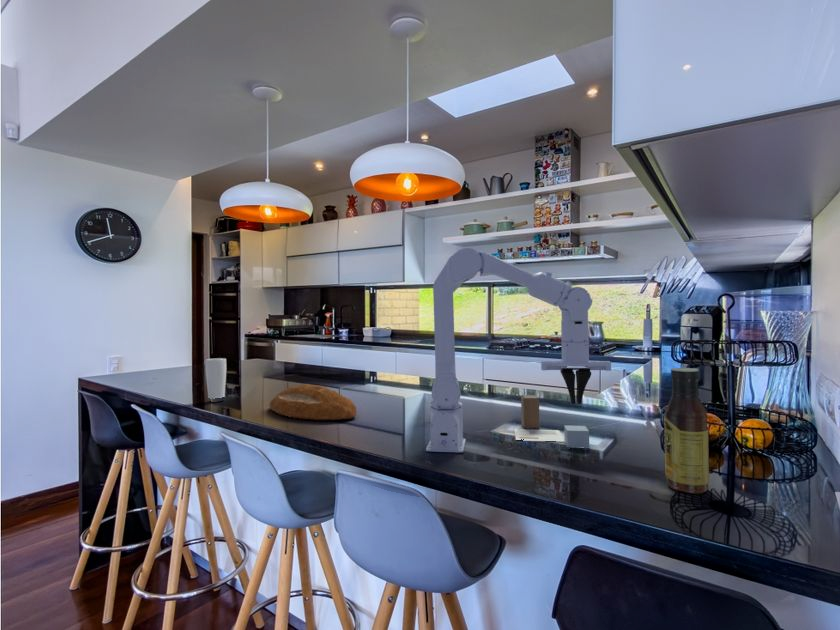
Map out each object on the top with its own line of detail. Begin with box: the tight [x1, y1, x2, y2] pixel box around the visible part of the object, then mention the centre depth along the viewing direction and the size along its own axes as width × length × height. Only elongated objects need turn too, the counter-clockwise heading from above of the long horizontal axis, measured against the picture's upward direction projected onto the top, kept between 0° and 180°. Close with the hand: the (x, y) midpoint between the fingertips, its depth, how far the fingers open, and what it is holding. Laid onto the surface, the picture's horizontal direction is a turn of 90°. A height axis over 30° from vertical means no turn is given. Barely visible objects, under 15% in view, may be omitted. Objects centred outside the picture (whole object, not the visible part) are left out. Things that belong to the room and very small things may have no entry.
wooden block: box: [520, 394, 541, 430], centre depth 116 cm, size 4×4×8 cm
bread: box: [269, 383, 358, 421], centre depth 137 cm, size 18×35×9 cm, turn 52°
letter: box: [513, 428, 565, 443], centre depth 108 cm, size 10×11×1 cm
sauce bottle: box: [663, 367, 710, 495], centre depth 74 cm, size 6×6×20 cm
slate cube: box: [563, 424, 590, 449], centre depth 99 cm, size 4×4×4 cm
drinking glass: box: [204, 357, 227, 399], centre depth 158 cm, size 7×7×15 cm
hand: (575, 403), depth 99 cm, fingers closed
